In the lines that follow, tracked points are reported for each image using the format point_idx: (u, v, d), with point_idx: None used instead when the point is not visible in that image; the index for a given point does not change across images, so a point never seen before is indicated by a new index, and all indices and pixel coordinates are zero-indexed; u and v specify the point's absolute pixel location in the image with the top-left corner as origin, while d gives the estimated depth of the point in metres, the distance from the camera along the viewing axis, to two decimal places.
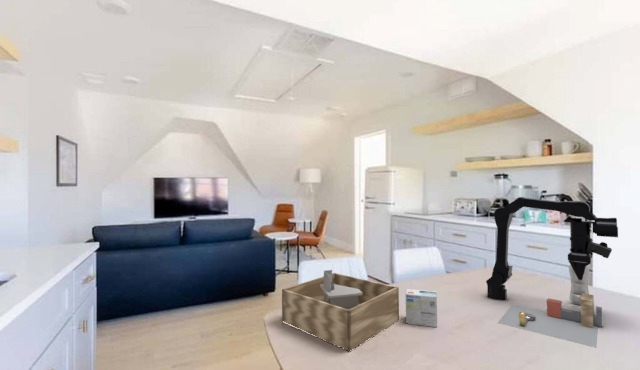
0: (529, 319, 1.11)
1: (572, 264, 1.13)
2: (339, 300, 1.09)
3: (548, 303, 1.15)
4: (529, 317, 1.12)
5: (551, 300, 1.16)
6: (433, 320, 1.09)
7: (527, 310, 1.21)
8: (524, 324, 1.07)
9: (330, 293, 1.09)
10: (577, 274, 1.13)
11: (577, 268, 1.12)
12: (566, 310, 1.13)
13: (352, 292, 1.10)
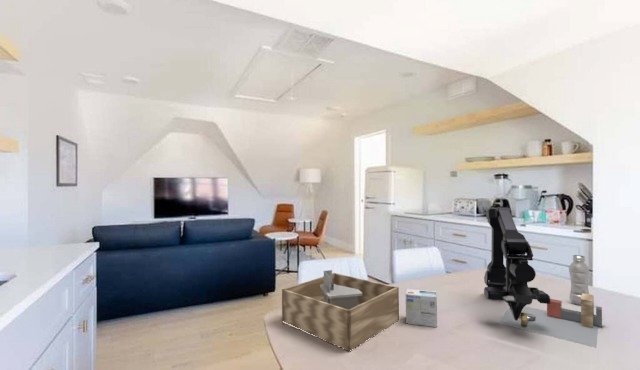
0: (529, 319, 1.11)
1: None
2: (339, 300, 1.08)
3: None
4: (529, 317, 1.12)
5: (551, 300, 1.16)
6: (433, 320, 1.09)
7: (527, 310, 1.21)
8: (525, 324, 1.06)
9: (330, 293, 1.09)
10: (512, 313, 1.09)
11: (511, 306, 1.09)
12: (566, 310, 1.13)
13: (351, 292, 1.09)
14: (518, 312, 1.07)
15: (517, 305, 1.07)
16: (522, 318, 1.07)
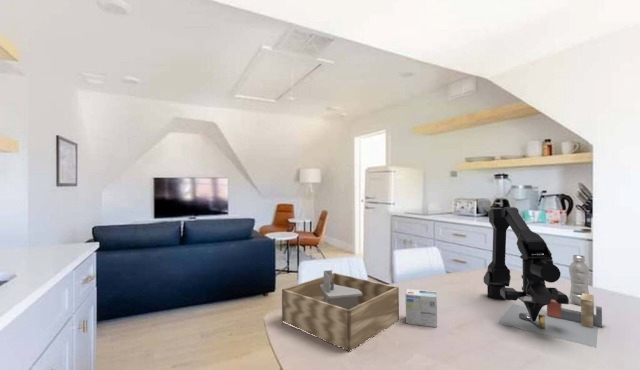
0: None
1: None
2: (339, 300, 1.08)
3: None
4: None
5: (551, 300, 1.16)
6: (433, 320, 1.09)
7: (527, 310, 1.21)
8: (544, 326, 1.05)
9: (329, 293, 1.09)
10: (529, 314, 1.07)
11: (528, 307, 1.07)
12: (566, 310, 1.13)
13: (351, 293, 1.09)
14: (536, 313, 1.05)
15: (535, 306, 1.06)
16: (542, 321, 1.05)
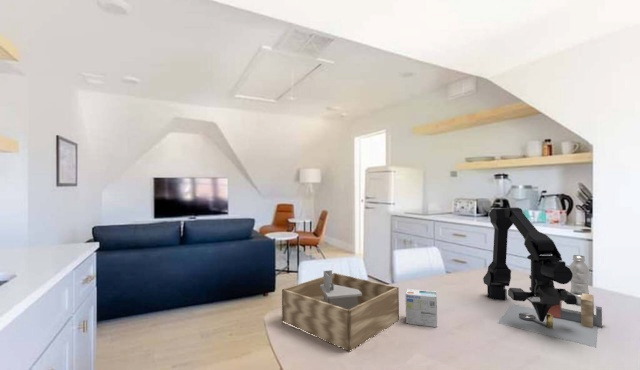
0: (535, 318, 1.12)
1: None
2: (339, 300, 1.08)
3: None
4: (532, 316, 1.12)
5: None
6: (433, 320, 1.09)
7: (527, 310, 1.21)
8: None
9: (329, 293, 1.09)
10: (537, 314, 1.07)
11: (536, 307, 1.07)
12: (566, 310, 1.13)
13: (351, 293, 1.09)
14: (544, 313, 1.05)
15: (543, 306, 1.06)
16: (551, 320, 1.05)
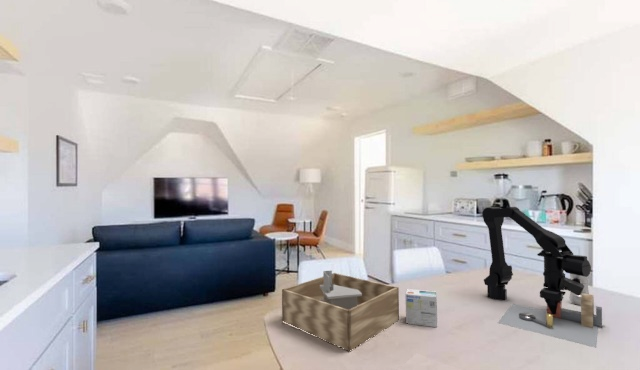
0: (535, 318, 1.12)
1: (546, 298, 1.14)
2: (338, 300, 1.08)
3: None
4: (532, 316, 1.12)
5: None
6: (433, 320, 1.09)
7: (527, 310, 1.21)
8: None
9: (329, 294, 1.08)
10: (550, 308, 1.14)
11: (550, 303, 1.14)
12: (566, 310, 1.13)
13: (351, 293, 1.09)
14: None
15: None
16: (551, 320, 1.05)
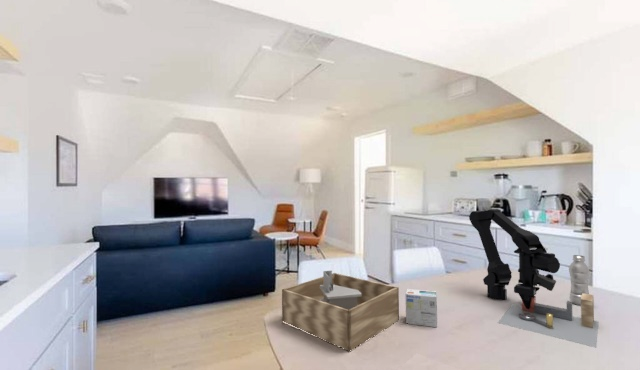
0: (535, 318, 1.12)
1: (520, 294, 1.19)
2: (338, 300, 1.08)
3: None
4: (532, 316, 1.12)
5: None
6: (433, 320, 1.09)
7: None
8: None
9: (329, 294, 1.08)
10: (525, 303, 1.19)
11: (525, 298, 1.19)
12: (539, 305, 1.18)
13: (351, 293, 1.09)
14: None
15: None
16: (551, 320, 1.05)
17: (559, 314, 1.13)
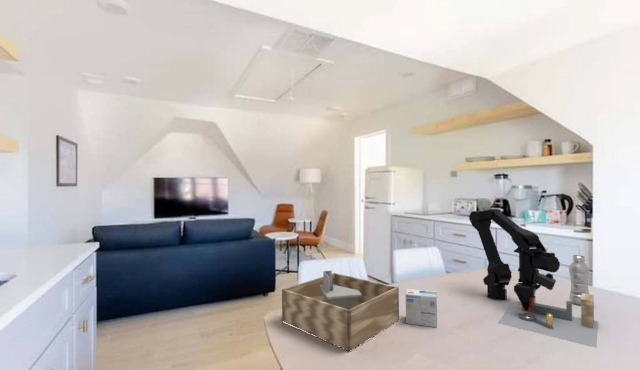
0: (535, 318, 1.12)
1: (518, 295, 1.17)
2: (338, 301, 1.08)
3: None
4: (532, 316, 1.12)
5: None
6: (433, 320, 1.09)
7: None
8: None
9: (328, 294, 1.08)
10: (523, 305, 1.17)
11: (523, 299, 1.17)
12: (539, 305, 1.18)
13: (350, 293, 1.09)
14: None
15: None
16: (551, 320, 1.05)
17: (559, 314, 1.13)
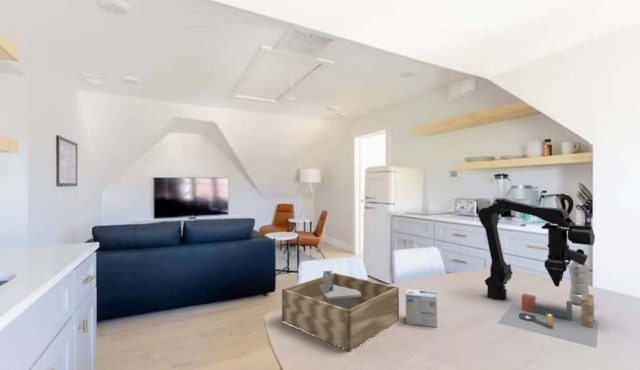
0: (535, 318, 1.12)
1: (549, 271, 1.14)
2: (338, 301, 1.07)
3: (523, 298, 1.20)
4: (532, 316, 1.12)
5: (526, 295, 1.21)
6: (433, 320, 1.09)
7: None
8: None
9: (328, 294, 1.08)
10: (554, 281, 1.14)
11: (554, 275, 1.14)
12: (539, 305, 1.18)
13: (350, 293, 1.08)
14: None
15: None
16: (551, 320, 1.05)
17: (559, 314, 1.13)
